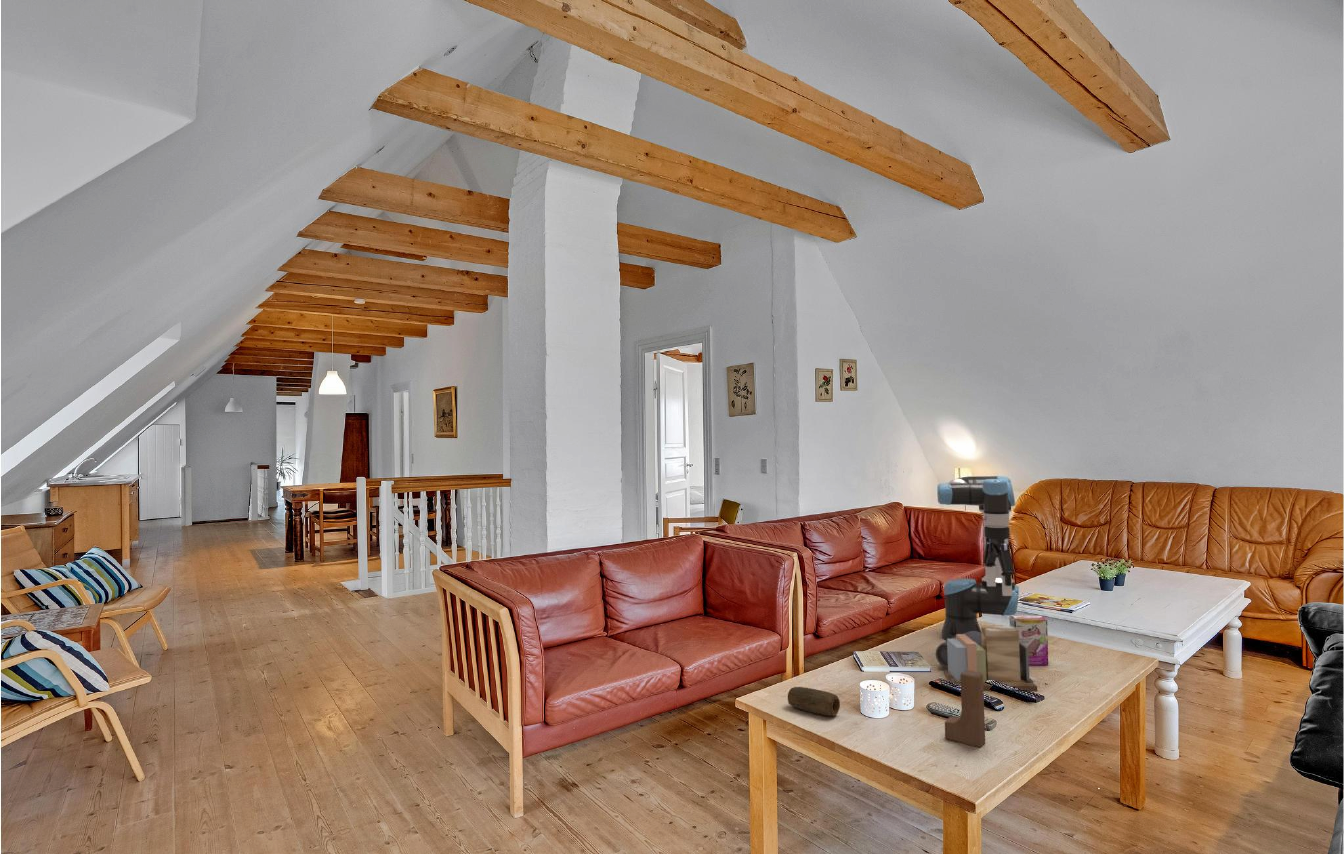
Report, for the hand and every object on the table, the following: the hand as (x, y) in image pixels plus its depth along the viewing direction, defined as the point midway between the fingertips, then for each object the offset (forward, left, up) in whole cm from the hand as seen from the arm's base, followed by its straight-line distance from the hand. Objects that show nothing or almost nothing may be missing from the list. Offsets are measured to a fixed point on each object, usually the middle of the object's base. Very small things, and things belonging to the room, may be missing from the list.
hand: (999, 590), depth 219 cm
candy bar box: (-18, +16, -30) cm, 38 cm away
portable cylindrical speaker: (+28, -64, -30) cm, 76 cm away
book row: (+2, -12, -28) cm, 30 cm away
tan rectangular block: (+2, -1, -28) cm, 28 cm away
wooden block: (+46, -27, -30) cm, 61 cm away
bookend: (+2, +6, -28) cm, 29 cm away
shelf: (+2, -5, -29) cm, 30 cm away
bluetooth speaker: (-17, -7, -30) cm, 35 cm away
